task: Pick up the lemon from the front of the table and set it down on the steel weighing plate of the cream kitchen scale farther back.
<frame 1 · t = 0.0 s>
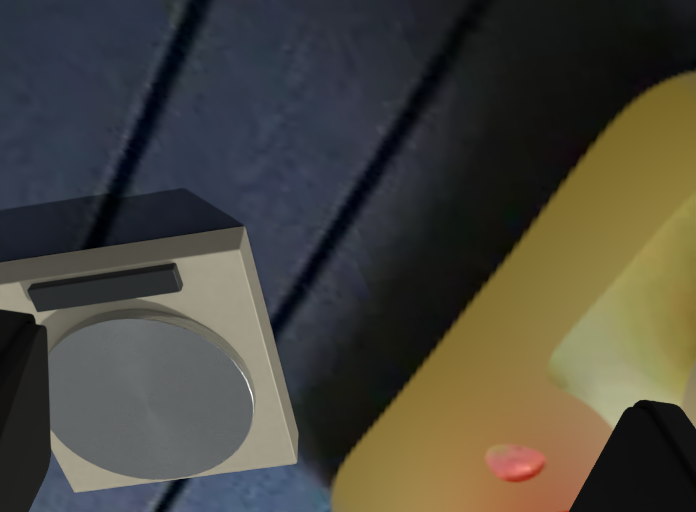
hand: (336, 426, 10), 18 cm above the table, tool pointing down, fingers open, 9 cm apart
scale: (157, 355, 32), on the table
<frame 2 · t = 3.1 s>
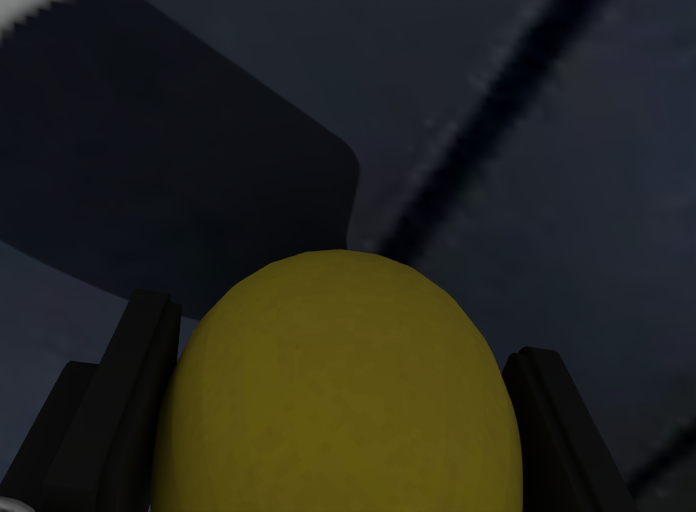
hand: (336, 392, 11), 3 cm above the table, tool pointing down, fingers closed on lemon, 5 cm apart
lemon: (333, 293, 14), on the table, touching gripper
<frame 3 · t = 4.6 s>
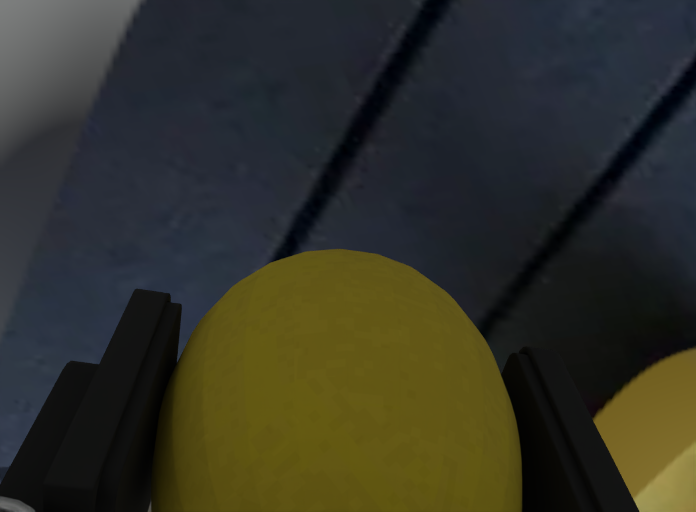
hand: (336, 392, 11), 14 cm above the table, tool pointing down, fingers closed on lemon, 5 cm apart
lemon: (333, 293, 14), point 11 cm above the table, touching gripper
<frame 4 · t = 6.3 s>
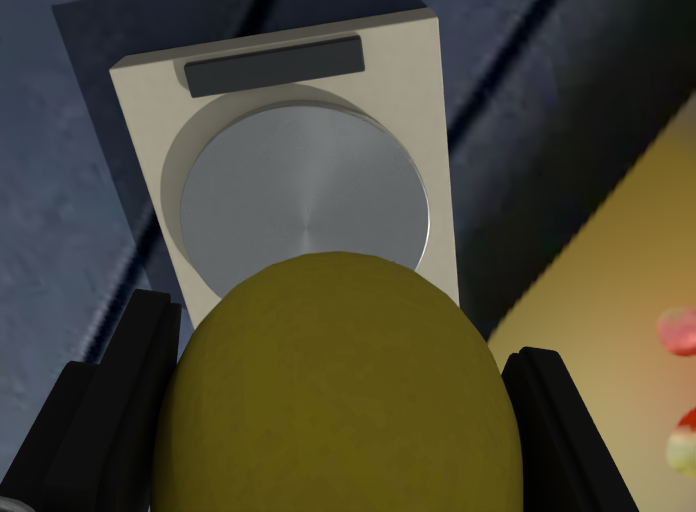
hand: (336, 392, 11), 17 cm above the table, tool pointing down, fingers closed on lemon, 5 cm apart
lemon: (333, 295, 14), point 14 cm above the table, touching gripper
scale: (305, 184, 28), on the table
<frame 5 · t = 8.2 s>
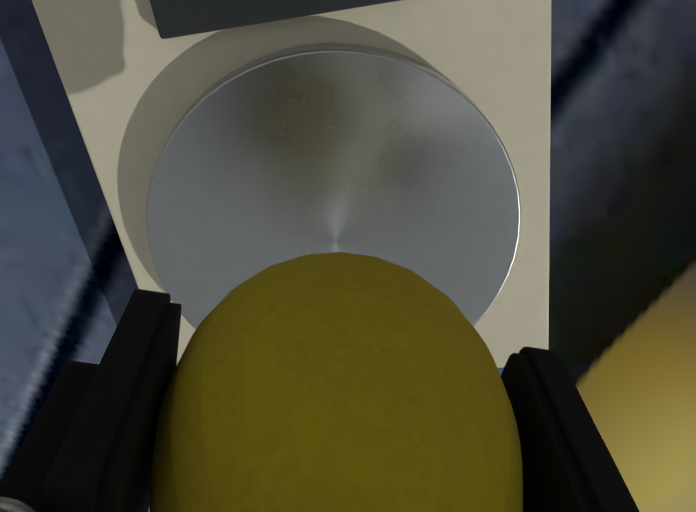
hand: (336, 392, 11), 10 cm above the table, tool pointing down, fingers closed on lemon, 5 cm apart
lemon: (333, 295, 14), point 7 cm above the table, touching gripper
scale: (330, 177, 20), on the table
when the fingers open (6 cm above the table, at t = 9.7 s): lemon stays where it is, resting on scale.
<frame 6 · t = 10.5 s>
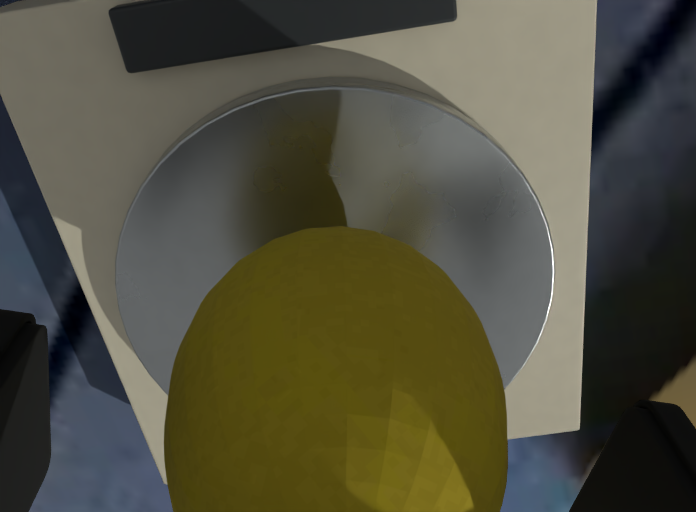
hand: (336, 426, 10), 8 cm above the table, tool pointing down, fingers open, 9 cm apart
lemon: (332, 273, 15), point 3 cm above the table, touching scale
scale: (331, 222, 17), on the table
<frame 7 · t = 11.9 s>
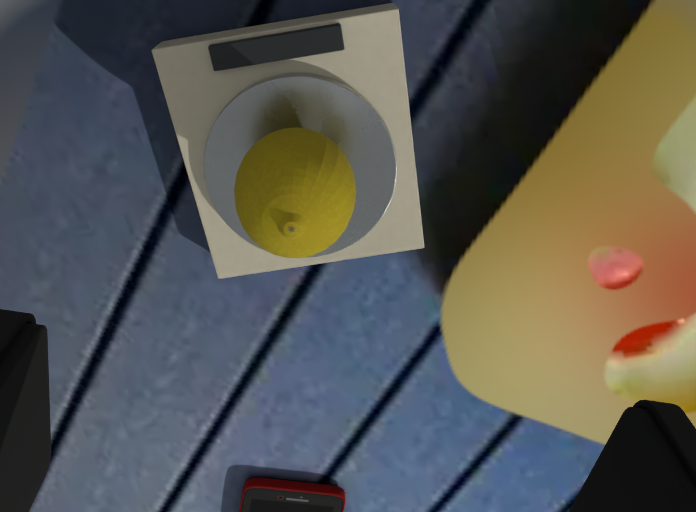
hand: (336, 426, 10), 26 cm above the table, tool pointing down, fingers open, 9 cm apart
lemon: (298, 159, 33), point 3 cm above the table, touching scale
scale: (300, 143, 36), on the table
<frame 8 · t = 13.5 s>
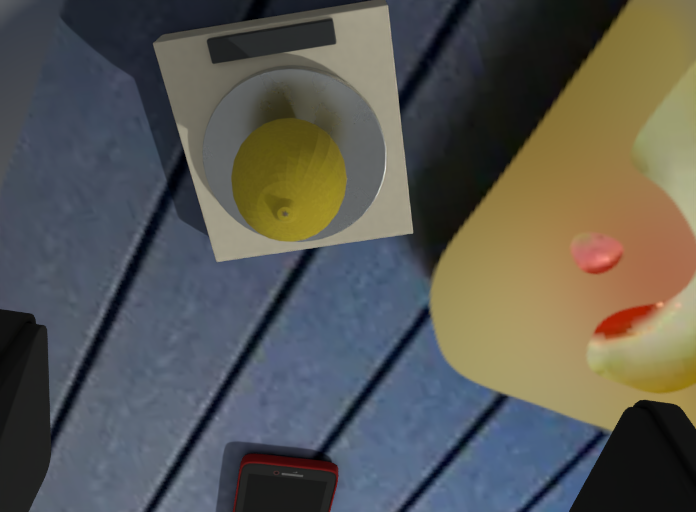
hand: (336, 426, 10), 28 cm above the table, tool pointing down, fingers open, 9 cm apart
lemon: (293, 148, 35), point 3 cm above the table, touching scale
scale: (295, 133, 37), on the table
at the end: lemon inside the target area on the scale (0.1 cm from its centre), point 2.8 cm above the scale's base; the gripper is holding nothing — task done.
